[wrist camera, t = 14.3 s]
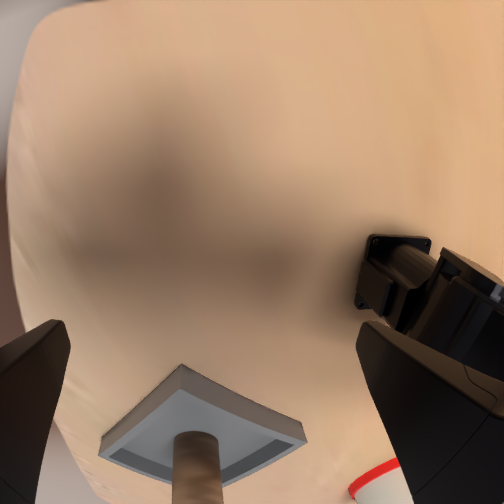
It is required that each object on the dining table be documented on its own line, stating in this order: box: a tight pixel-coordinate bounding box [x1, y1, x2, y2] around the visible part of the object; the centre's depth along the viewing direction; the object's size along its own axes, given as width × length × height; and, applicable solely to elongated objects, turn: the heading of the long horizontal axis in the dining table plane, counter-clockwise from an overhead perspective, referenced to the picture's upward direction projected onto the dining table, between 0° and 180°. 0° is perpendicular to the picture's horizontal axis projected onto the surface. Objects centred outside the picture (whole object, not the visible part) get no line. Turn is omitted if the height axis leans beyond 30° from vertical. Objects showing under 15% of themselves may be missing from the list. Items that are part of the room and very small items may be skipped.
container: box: [348, 458, 414, 504], centre depth 36 cm, size 16×16×15 cm
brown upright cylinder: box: [172, 431, 224, 504], centre depth 23 cm, size 5×5×11 cm
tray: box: [98, 364, 308, 488], centre depth 27 cm, size 18×16×3 cm
